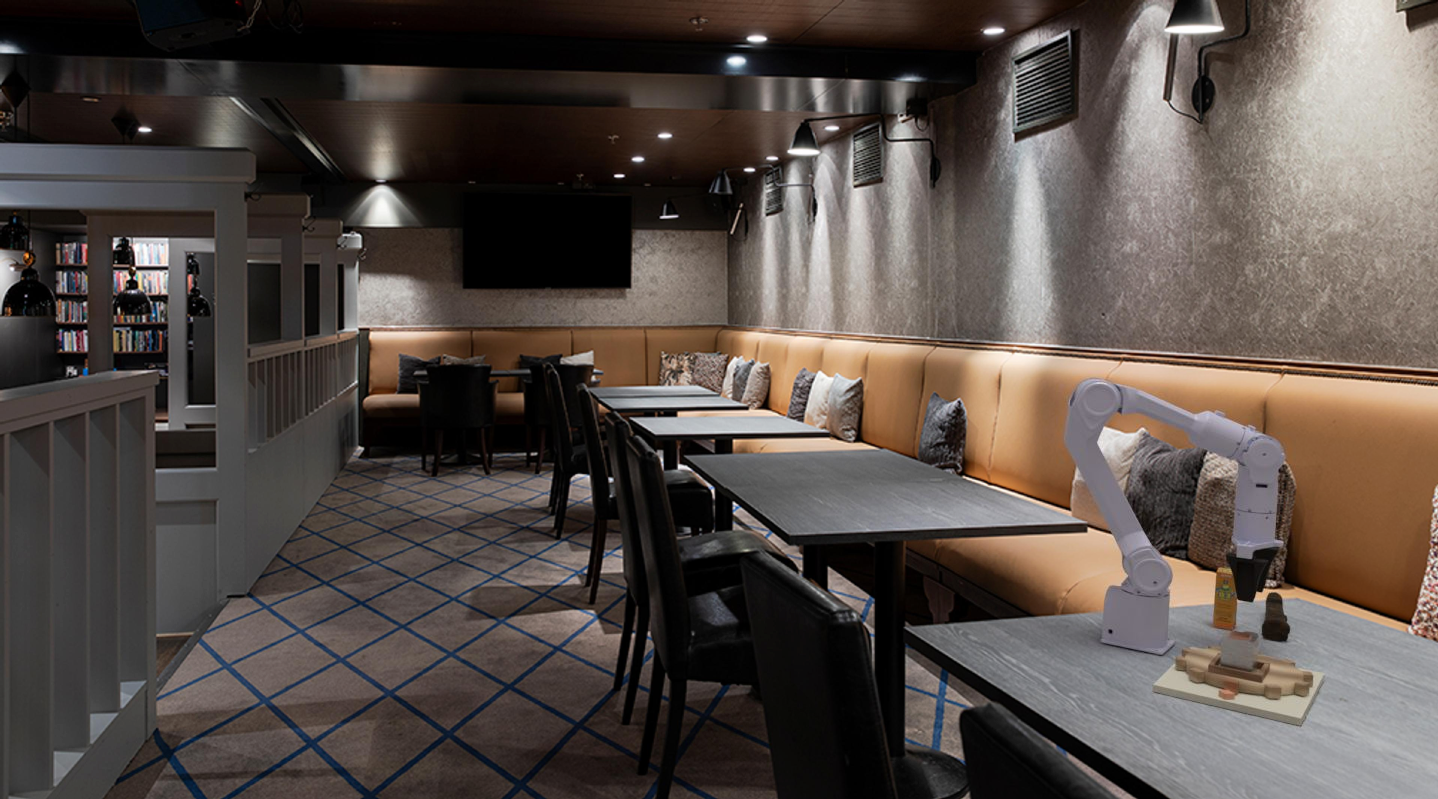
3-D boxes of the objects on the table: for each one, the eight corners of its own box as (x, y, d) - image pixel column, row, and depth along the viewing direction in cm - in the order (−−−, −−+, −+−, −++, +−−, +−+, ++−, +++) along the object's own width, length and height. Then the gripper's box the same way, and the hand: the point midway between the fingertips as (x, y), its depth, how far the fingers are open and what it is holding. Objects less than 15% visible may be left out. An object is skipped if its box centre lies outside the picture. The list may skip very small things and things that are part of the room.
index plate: (1152, 691, 136) (1153, 679, 136) (1190, 652, 153) (1191, 641, 153) (1300, 726, 125) (1301, 712, 125) (1324, 679, 142) (1325, 667, 142)
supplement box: (1211, 627, 167) (1214, 570, 166) (1215, 622, 170) (1218, 566, 169) (1233, 631, 165) (1236, 573, 164) (1236, 626, 168) (1240, 569, 167)
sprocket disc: (1191, 648, 152) (1193, 616, 152) (1318, 673, 142) (1320, 639, 141) (1163, 678, 138) (1165, 643, 138) (1302, 708, 128) (1304, 671, 127)
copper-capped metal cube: (1219, 671, 137) (1222, 634, 137) (1225, 664, 140) (1227, 628, 140) (1251, 678, 135) (1254, 640, 134) (1257, 670, 138) (1259, 633, 137)
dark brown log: (1288, 645, 159) (1290, 617, 159) (1260, 640, 161) (1262, 613, 161) (1290, 617, 175) (1292, 592, 175) (1265, 613, 177) (1266, 588, 177)
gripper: (1276, 520, 143) (1271, 610, 144) (1292, 507, 154) (1287, 591, 155) (1223, 514, 148) (1218, 601, 148) (1242, 501, 159) (1238, 583, 160)
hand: (1250, 596), depth 152 cm, fingers open, 7 cm apart
